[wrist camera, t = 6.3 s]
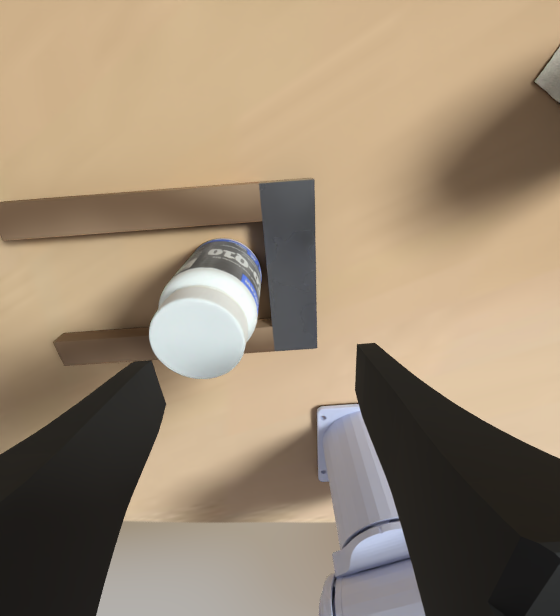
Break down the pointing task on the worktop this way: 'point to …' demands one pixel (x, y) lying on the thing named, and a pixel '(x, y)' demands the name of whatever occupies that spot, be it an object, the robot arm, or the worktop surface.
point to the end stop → (291, 261)
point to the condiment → (551, 77)
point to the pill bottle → (208, 310)
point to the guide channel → (121, 218)
